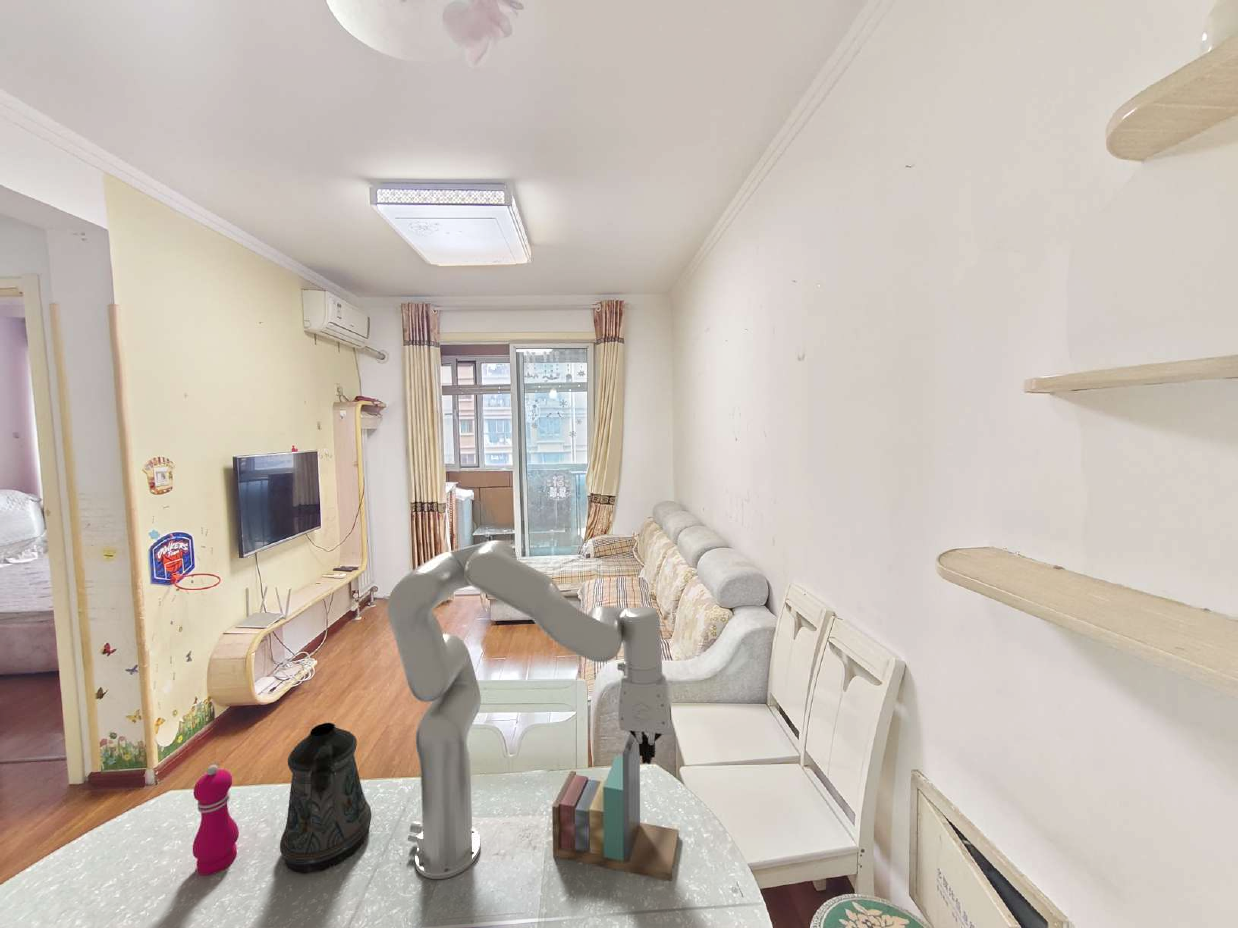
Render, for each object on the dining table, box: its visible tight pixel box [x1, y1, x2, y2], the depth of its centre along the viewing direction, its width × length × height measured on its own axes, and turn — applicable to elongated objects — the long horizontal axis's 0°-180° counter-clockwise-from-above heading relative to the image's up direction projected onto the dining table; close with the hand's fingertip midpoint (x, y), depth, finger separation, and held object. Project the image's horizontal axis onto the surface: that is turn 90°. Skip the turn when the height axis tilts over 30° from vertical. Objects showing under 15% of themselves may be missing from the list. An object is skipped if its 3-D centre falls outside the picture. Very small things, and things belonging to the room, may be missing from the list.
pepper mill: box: [192, 764, 240, 876], centre depth 100 cm, size 7×7×20 cm
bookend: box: [622, 732, 641, 861], centre depth 102 cm, size 1×10×22 cm, turn 166°
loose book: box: [603, 755, 624, 861], centre depth 103 cm, size 4×10×14 cm, turn 166°
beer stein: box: [279, 722, 372, 875], centre depth 104 cm, size 16×19×25 cm
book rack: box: [551, 770, 680, 882], centre depth 103 cm, size 24×11×10 cm, turn 76°
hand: (647, 758), depth 101 cm, fingers closed
